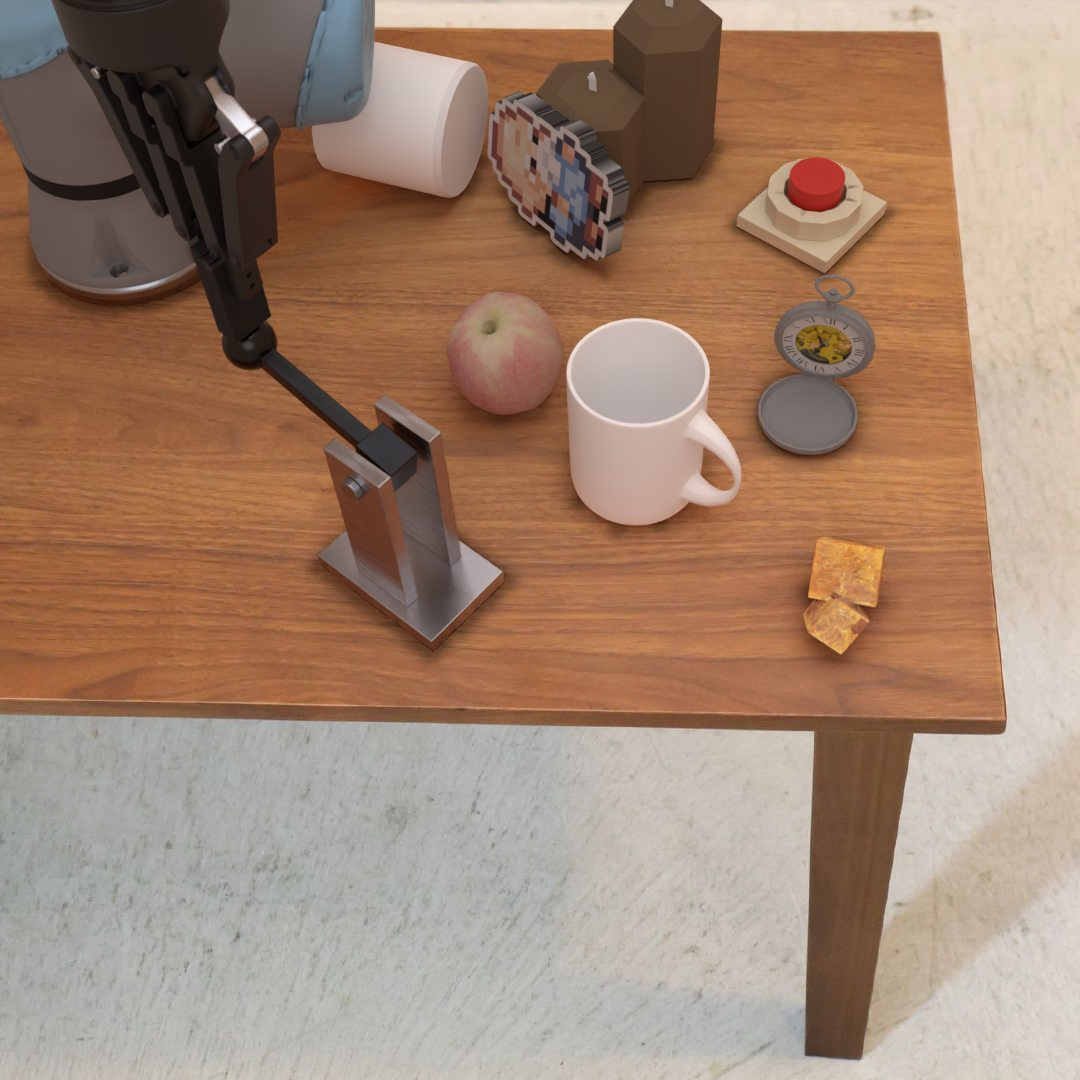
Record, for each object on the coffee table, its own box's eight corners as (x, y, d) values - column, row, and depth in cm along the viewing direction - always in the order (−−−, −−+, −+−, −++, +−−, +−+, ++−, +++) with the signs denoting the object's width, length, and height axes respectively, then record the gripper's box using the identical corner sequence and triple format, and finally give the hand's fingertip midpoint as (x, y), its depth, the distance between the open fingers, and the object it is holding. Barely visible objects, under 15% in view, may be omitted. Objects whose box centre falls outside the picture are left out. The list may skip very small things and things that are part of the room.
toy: (617, 274, 103) (633, 159, 95) (602, 282, 102) (617, 166, 94) (501, 180, 109) (507, 65, 101) (486, 187, 108) (491, 71, 101)
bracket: (320, 565, 90) (277, 431, 78) (392, 500, 92) (360, 361, 81) (433, 651, 86) (405, 524, 74) (504, 581, 88) (488, 447, 77)
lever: (212, 357, 82) (207, 326, 80) (252, 326, 84) (248, 294, 81) (384, 505, 79) (385, 478, 77) (422, 470, 81) (425, 443, 78)
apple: (472, 343, 100) (462, 262, 93) (576, 360, 98) (573, 279, 92) (439, 428, 95) (427, 349, 89) (547, 447, 94) (543, 369, 87)
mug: (695, 579, 88) (705, 477, 79) (544, 489, 92) (537, 383, 83) (769, 489, 91) (786, 382, 82) (620, 406, 96) (621, 297, 87)
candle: (702, 90, 114) (713, -81, 101) (723, 205, 106) (738, 36, 94) (536, 101, 114) (526, -68, 101) (544, 218, 106) (535, 51, 94)
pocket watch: (777, 470, 92) (793, 370, 84) (734, 377, 97) (745, 273, 88) (893, 440, 93) (920, 339, 85) (844, 350, 98) (866, 245, 89)
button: (776, 196, 103) (778, 178, 101) (807, 167, 104) (810, 149, 103) (821, 220, 101) (824, 202, 100) (852, 190, 103) (856, 172, 101)
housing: (735, 226, 105) (738, 196, 103) (797, 169, 108) (801, 138, 106) (824, 274, 102) (829, 243, 99) (885, 213, 105) (891, 183, 103)
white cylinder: (448, 72, 98) (316, 44, 100) (433, 211, 103) (307, 182, 105) (507, 51, 109) (386, 26, 111) (491, 178, 114) (375, 151, 116)
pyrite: (867, 651, 86) (800, 636, 87) (889, 545, 85) (822, 532, 86) (864, 661, 81) (793, 646, 82) (887, 549, 80) (816, 535, 81)
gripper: (292, -40, 59) (372, 338, 79) (97, -142, 64) (217, 237, 84) (157, 49, 56) (275, 419, 76) (-36, -66, 61) (121, 309, 81)
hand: (245, 323), depth 80 cm, fingers closed
